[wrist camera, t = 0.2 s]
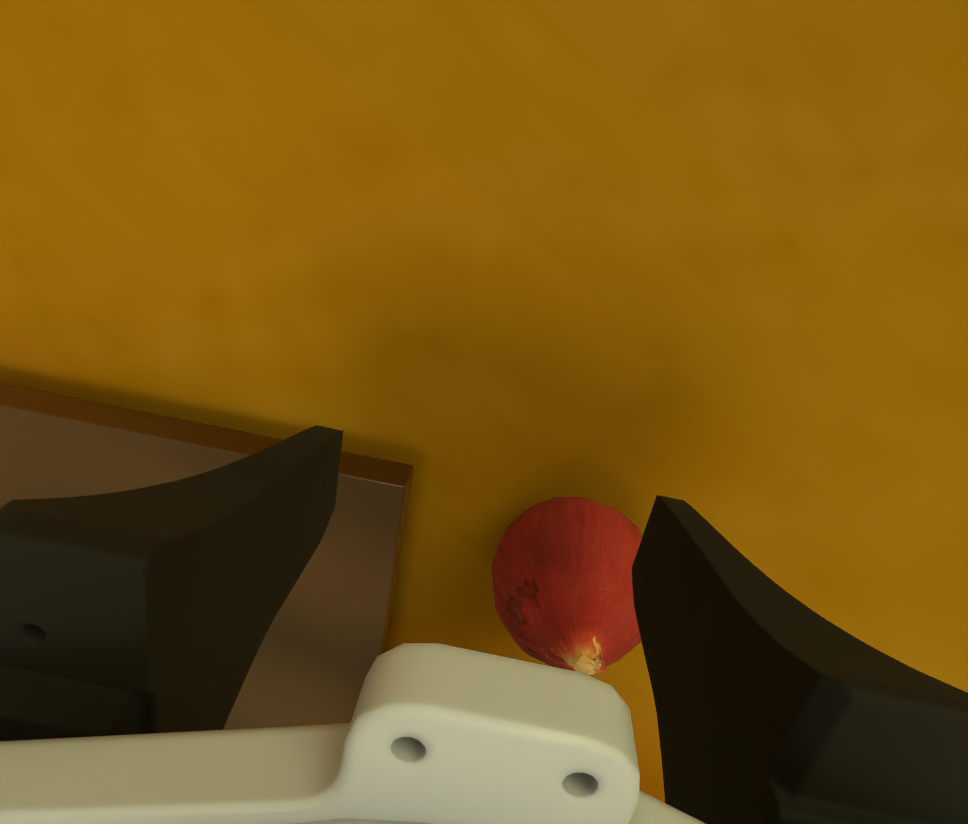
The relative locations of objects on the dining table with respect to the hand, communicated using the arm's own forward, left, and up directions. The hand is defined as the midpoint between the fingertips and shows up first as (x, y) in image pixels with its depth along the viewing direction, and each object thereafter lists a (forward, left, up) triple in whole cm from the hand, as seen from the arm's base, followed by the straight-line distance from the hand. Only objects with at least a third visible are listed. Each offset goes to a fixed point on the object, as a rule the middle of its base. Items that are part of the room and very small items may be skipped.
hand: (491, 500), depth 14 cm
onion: (-6, -4, -10) cm, 13 cm away
